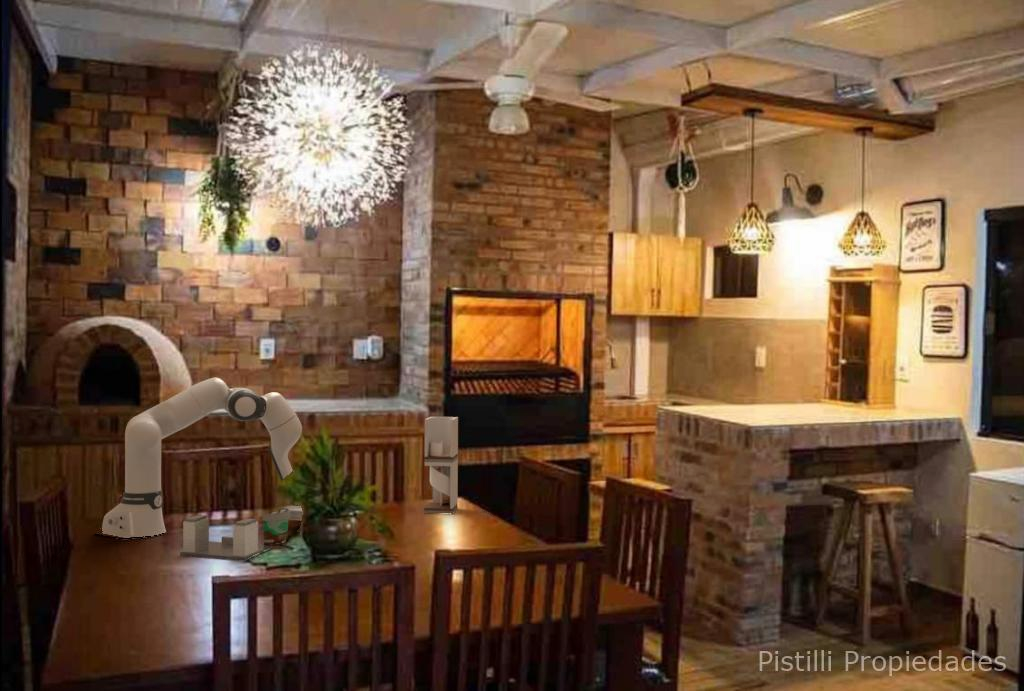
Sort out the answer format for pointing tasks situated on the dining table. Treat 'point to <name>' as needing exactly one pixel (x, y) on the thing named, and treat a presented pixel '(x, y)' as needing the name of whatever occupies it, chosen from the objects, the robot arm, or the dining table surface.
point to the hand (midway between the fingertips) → (297, 518)
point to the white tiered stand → (442, 463)
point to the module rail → (230, 547)
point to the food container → (275, 526)
